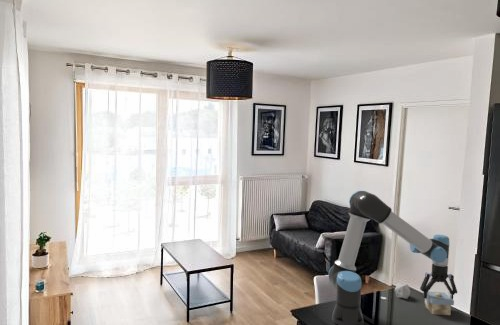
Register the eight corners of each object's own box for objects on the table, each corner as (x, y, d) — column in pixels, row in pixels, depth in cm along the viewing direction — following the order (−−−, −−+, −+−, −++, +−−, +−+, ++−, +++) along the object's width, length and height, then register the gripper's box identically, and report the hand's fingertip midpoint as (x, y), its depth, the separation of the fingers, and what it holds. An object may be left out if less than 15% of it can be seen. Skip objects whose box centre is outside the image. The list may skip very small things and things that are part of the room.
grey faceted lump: (390, 295, 215) (391, 286, 210) (400, 286, 219) (401, 276, 213) (403, 305, 209) (404, 295, 203) (413, 296, 212) (414, 286, 207)
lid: (431, 305, 188) (432, 297, 188) (423, 296, 199) (423, 289, 199) (453, 306, 188) (454, 298, 188) (443, 297, 199) (444, 290, 199)
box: (432, 315, 190) (433, 303, 189) (425, 307, 199) (426, 296, 198) (450, 316, 189) (451, 304, 189) (442, 308, 198) (443, 297, 198)
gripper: (420, 265, 190) (417, 306, 191) (466, 267, 188) (464, 309, 189) (414, 260, 197) (412, 300, 198) (459, 263, 196) (456, 303, 197)
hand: (437, 304), depth 194 cm, fingers closed on lid, 11 cm apart
